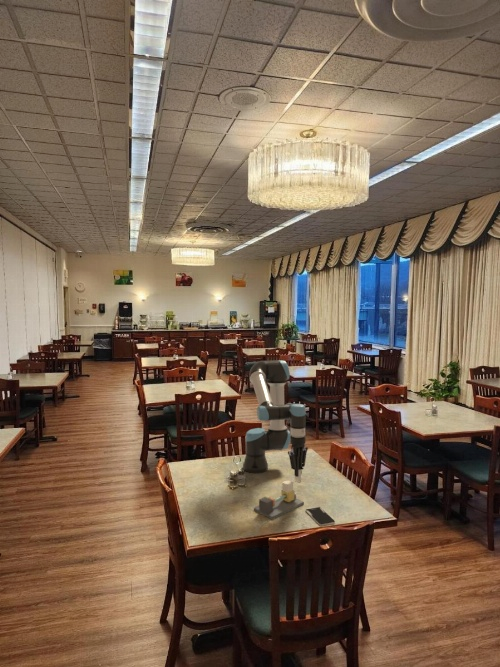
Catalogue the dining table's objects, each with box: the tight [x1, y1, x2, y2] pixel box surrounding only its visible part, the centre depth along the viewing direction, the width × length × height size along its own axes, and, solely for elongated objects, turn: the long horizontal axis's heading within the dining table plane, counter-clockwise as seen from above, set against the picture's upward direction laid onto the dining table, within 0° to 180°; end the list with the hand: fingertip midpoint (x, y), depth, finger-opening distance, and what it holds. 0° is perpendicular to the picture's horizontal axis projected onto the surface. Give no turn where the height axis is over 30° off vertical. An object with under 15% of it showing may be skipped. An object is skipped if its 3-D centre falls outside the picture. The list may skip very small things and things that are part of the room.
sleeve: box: [281, 479, 295, 502], centre depth 201 cm, size 5×4×9 cm
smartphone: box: [305, 506, 336, 527], centre depth 188 cm, size 8×1×15 cm
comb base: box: [253, 490, 305, 520], centre depth 198 cm, size 12×22×6 cm, turn 132°
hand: (298, 481), depth 206 cm, fingers closed
